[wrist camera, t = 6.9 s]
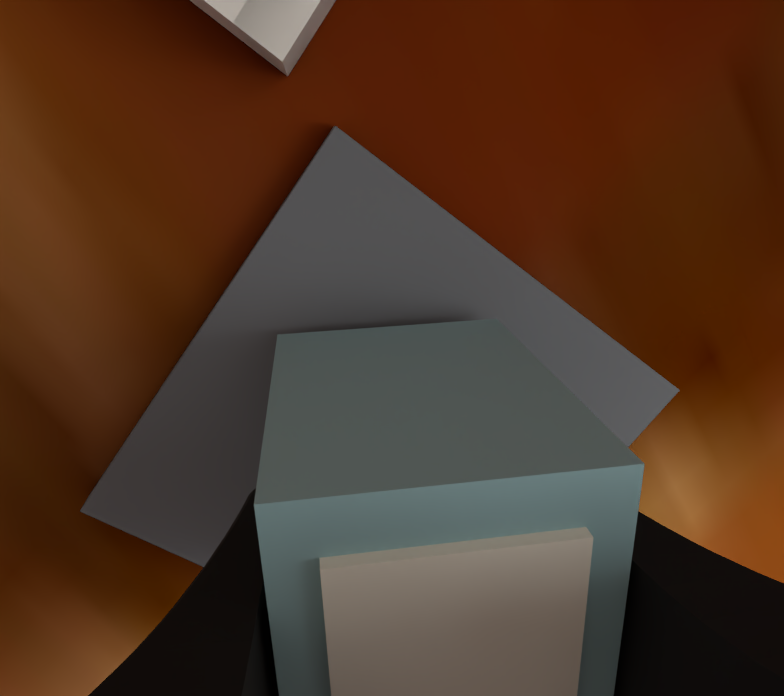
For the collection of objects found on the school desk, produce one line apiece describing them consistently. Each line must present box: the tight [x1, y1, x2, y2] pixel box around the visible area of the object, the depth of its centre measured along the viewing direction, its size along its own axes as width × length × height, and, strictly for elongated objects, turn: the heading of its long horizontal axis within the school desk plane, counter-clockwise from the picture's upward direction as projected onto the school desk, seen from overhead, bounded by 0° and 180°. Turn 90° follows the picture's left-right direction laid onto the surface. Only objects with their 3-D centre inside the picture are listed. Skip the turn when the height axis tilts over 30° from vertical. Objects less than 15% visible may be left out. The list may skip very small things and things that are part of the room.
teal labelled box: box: [254, 319, 644, 696], centre depth 10 cm, size 4×6×6 cm
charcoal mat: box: [80, 126, 679, 567], centre depth 14 cm, size 10×10×1 cm
